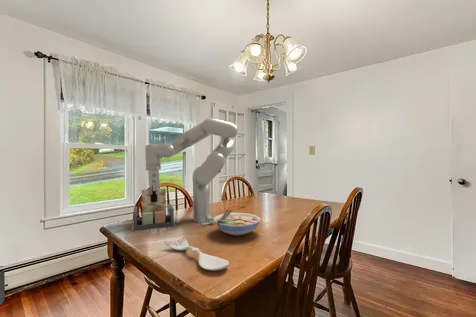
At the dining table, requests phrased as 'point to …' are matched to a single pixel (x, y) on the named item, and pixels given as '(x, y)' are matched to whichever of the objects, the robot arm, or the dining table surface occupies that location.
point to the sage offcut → (147, 218)
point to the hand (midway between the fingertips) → (153, 201)
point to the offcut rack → (138, 221)
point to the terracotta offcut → (159, 217)
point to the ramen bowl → (236, 223)
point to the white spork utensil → (201, 256)
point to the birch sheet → (154, 206)
